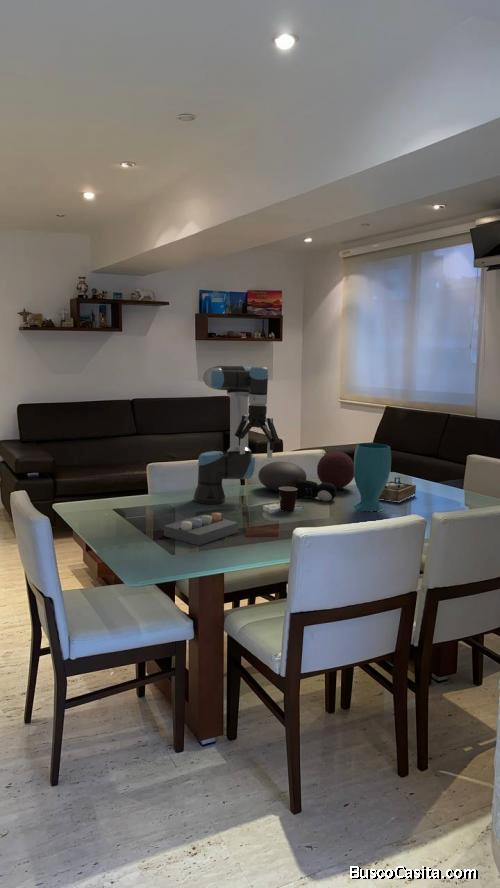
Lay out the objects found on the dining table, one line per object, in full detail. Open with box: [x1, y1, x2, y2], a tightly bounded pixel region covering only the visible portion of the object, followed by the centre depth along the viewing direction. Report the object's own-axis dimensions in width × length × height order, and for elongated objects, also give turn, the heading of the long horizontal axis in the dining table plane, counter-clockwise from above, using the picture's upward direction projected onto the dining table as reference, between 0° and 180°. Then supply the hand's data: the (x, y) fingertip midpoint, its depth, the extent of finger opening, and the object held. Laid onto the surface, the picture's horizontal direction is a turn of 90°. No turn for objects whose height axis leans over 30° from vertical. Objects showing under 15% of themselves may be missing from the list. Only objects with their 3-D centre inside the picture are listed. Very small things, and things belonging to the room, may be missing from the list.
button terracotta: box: [210, 512, 222, 522], centre depth 272 cm, size 4×4×4 cm
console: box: [163, 513, 239, 546], centre depth 265 cm, size 18×24×4 cm
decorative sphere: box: [316, 450, 354, 490], centre depth 355 cm, size 20×20×20 cm
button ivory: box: [181, 520, 192, 531], centre depth 257 cm, size 4×4×4 cm
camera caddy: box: [379, 480, 417, 501], centre depth 341 cm, size 14×21×6 cm, turn 144°
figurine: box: [296, 479, 337, 502], centre depth 331 cm, size 9×9×20 cm
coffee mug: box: [278, 487, 298, 512], centre depth 309 cm, size 12×9×10 cm
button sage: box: [202, 514, 212, 525], centre depth 267 cm, size 4×4×4 cm
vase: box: [352, 442, 392, 512], centre depth 315 cm, size 17×17×30 cm
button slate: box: [192, 517, 202, 528], centre depth 262 cm, size 4×4×4 cm
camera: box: [384, 476, 406, 491], centre depth 342 cm, size 15×8×10 cm, turn 125°
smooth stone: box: [257, 460, 307, 492], centre depth 347 cm, size 25×25×15 cm
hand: (255, 455), depth 279 cm, fingers open, 13 cm apart
